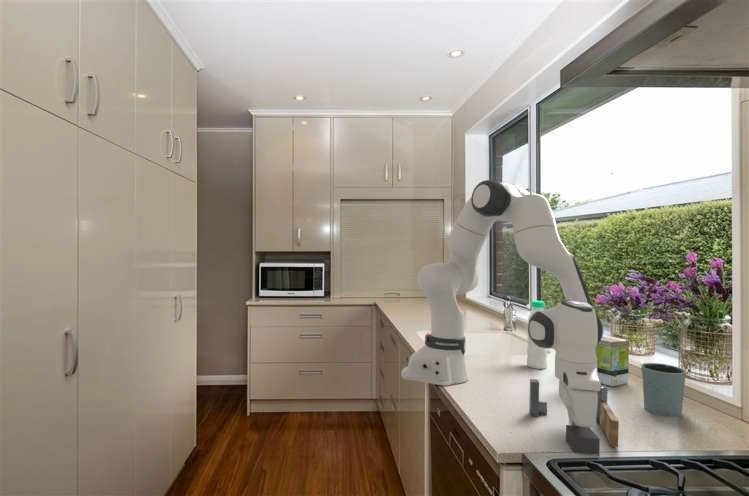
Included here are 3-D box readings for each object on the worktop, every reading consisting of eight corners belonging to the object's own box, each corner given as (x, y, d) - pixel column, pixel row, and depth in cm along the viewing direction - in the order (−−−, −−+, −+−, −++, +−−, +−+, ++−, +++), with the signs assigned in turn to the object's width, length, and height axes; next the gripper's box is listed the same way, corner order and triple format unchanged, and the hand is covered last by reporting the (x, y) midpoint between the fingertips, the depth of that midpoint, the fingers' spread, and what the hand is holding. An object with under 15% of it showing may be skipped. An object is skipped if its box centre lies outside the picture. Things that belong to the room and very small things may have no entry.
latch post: (530, 415, 107) (531, 381, 107) (528, 411, 110) (529, 377, 110) (548, 417, 106) (548, 383, 106) (546, 413, 109) (546, 379, 109)
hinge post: (597, 423, 103) (598, 388, 103) (594, 419, 105) (595, 385, 106) (607, 424, 103) (608, 389, 103) (605, 421, 105) (605, 386, 105)
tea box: (629, 383, 137) (630, 339, 137) (611, 387, 132) (612, 342, 132) (587, 371, 150) (588, 331, 150) (569, 374, 145) (570, 333, 146)
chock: (574, 453, 87) (574, 436, 87) (565, 440, 93) (565, 425, 93) (599, 455, 87) (599, 438, 87) (588, 442, 93) (589, 427, 93)
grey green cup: (684, 409, 114) (684, 366, 114) (686, 421, 106) (687, 375, 106) (640, 401, 120) (641, 360, 120) (640, 412, 111) (641, 368, 112)
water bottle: (522, 365, 157) (524, 300, 157) (536, 363, 159) (538, 299, 160) (536, 370, 150) (538, 302, 150) (551, 368, 153) (552, 301, 153)
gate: (599, 422, 103) (599, 400, 103) (605, 423, 102) (606, 400, 102) (610, 445, 90) (611, 420, 90) (618, 447, 90) (618, 421, 90)
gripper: (552, 358, 106) (552, 412, 105) (570, 383, 86) (569, 448, 86) (579, 361, 104) (578, 415, 104) (603, 386, 84) (602, 453, 84)
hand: (574, 430), depth 95 cm, fingers closed
